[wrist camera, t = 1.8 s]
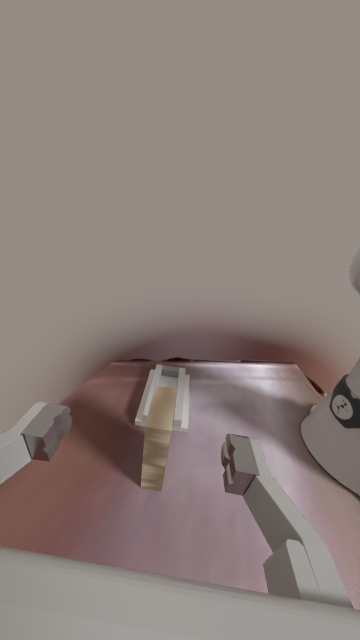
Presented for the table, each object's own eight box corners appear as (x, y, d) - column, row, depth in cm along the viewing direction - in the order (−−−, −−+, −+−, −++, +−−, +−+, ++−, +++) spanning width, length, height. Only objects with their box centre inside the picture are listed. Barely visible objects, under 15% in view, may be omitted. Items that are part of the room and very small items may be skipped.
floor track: (189, 378, 47) (191, 369, 46) (187, 432, 35) (189, 421, 33) (150, 373, 47) (151, 363, 46) (134, 424, 35) (135, 413, 33)
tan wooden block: (166, 446, 32) (176, 388, 26) (161, 490, 27) (171, 430, 20) (149, 444, 32) (155, 385, 26) (140, 487, 27) (144, 426, 20)
